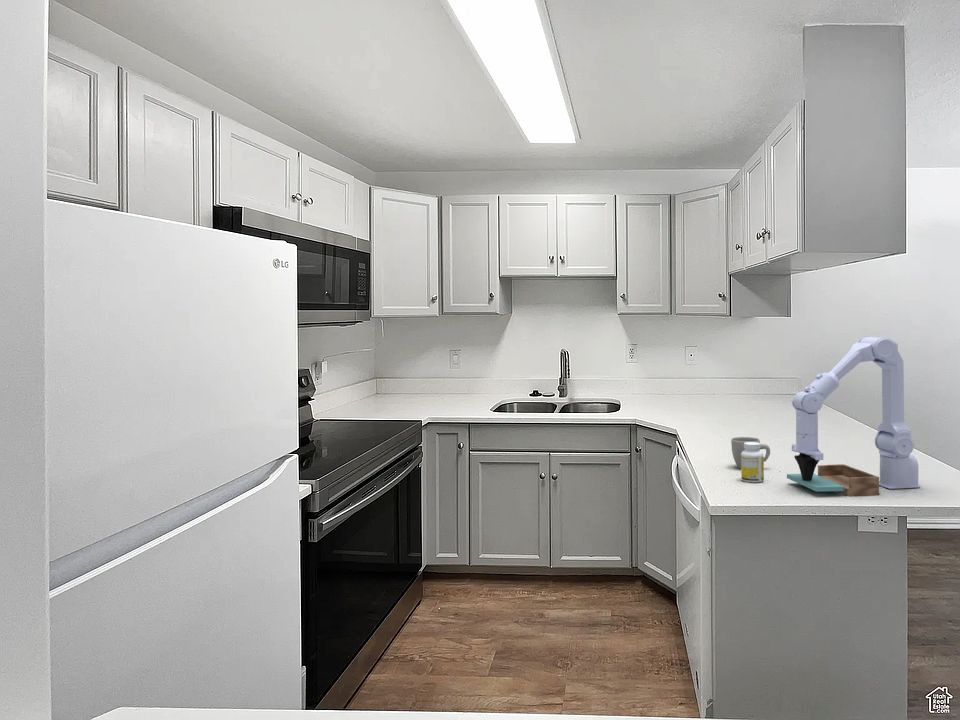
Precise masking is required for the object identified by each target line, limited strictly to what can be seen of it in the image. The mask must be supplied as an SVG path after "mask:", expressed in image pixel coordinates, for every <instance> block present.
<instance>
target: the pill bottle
mask: <svg viewBox="0 0 960 720" xmlns="http://www.w3.org/2000/svg"><path fill="white" fill-rule="evenodd" d="M760 444H761V442H760V443H757V442H746V443H744V448H745V450H744V451H743V452H742V453H741V469H740V474H741V475H740V476H741V481H743V482H745V483H751V482H752V483H753V484H755V483H762V482H764V480H765V478H764V477H765V469H764V468H765V467H764V466H765V462H764V457H765V456H764V455H765V454H764V453H763V452H762V451H761V449H760V450H759V448H760ZM752 483H751V484H752Z"/></svg>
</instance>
